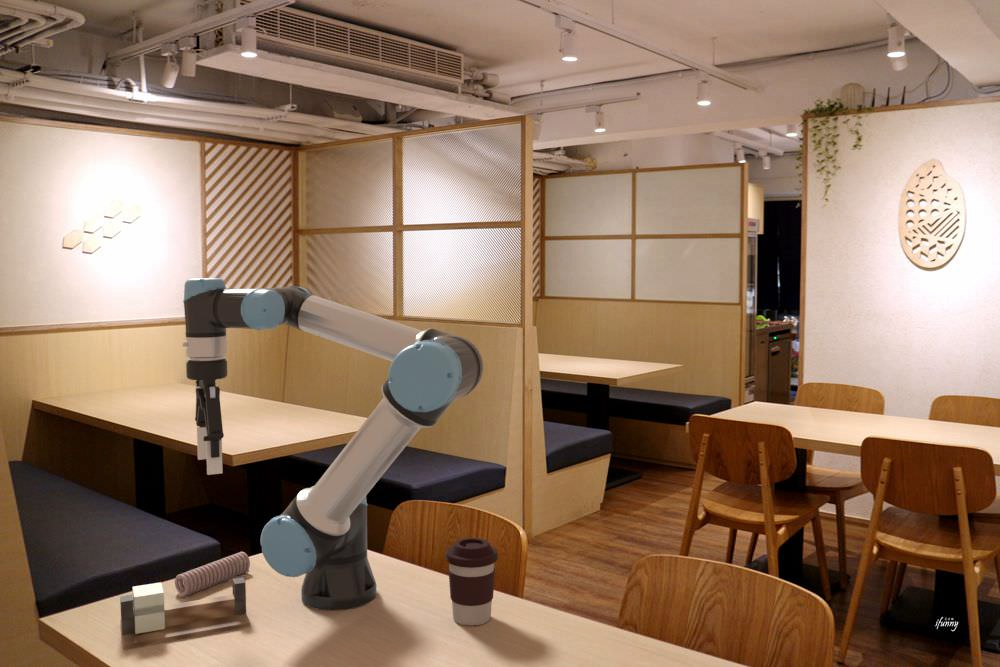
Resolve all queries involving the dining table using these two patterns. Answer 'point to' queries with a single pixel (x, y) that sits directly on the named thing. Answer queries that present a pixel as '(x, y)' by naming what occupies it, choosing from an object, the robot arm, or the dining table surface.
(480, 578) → the coffee cup
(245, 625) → the track
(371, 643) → the dining table surface
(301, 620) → the dining table surface
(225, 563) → the coil
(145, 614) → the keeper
